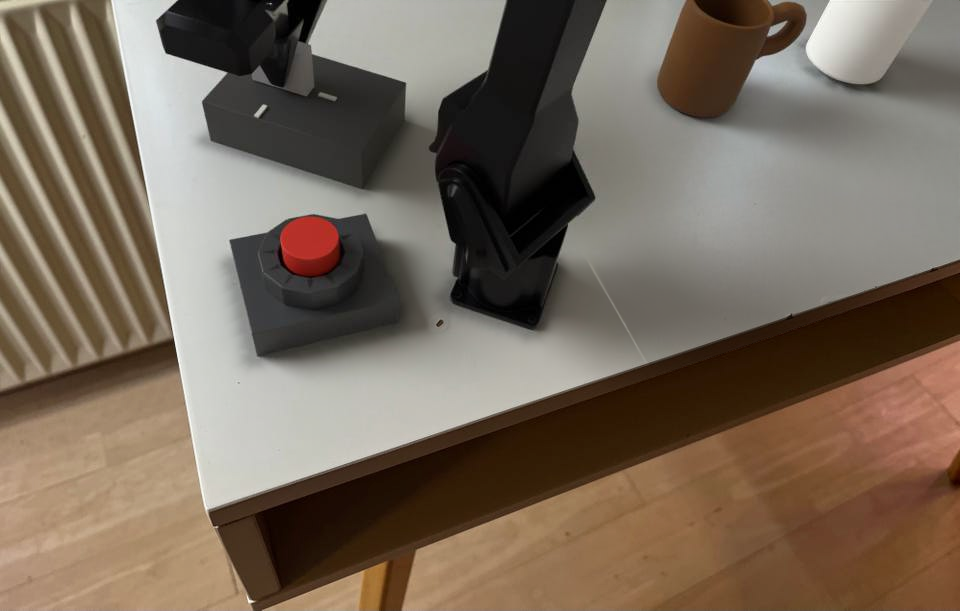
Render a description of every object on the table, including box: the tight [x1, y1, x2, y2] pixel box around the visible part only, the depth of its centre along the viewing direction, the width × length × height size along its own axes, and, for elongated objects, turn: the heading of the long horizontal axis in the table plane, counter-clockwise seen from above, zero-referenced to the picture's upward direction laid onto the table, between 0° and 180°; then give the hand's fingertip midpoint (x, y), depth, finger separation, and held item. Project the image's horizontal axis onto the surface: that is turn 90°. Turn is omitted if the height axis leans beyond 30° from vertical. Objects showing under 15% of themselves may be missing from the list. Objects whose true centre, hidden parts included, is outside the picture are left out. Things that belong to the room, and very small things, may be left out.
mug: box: [656, 0, 808, 118], centre depth 67 cm, size 12×8×9 cm, turn 104°
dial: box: [252, 41, 314, 96], centre depth 56 cm, size 5×1×4 cm, turn 72°
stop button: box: [280, 217, 340, 277], centre depth 47 cm, size 4×4×2 cm
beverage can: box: [805, 0, 934, 85], centre depth 71 cm, size 8×8×12 cm
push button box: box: [228, 213, 400, 357], centre depth 50 cm, size 10×8×4 cm
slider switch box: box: [201, 53, 407, 190], centre depth 59 cm, size 13×9×4 cm
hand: (283, 78), depth 58 cm, fingers closed on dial
